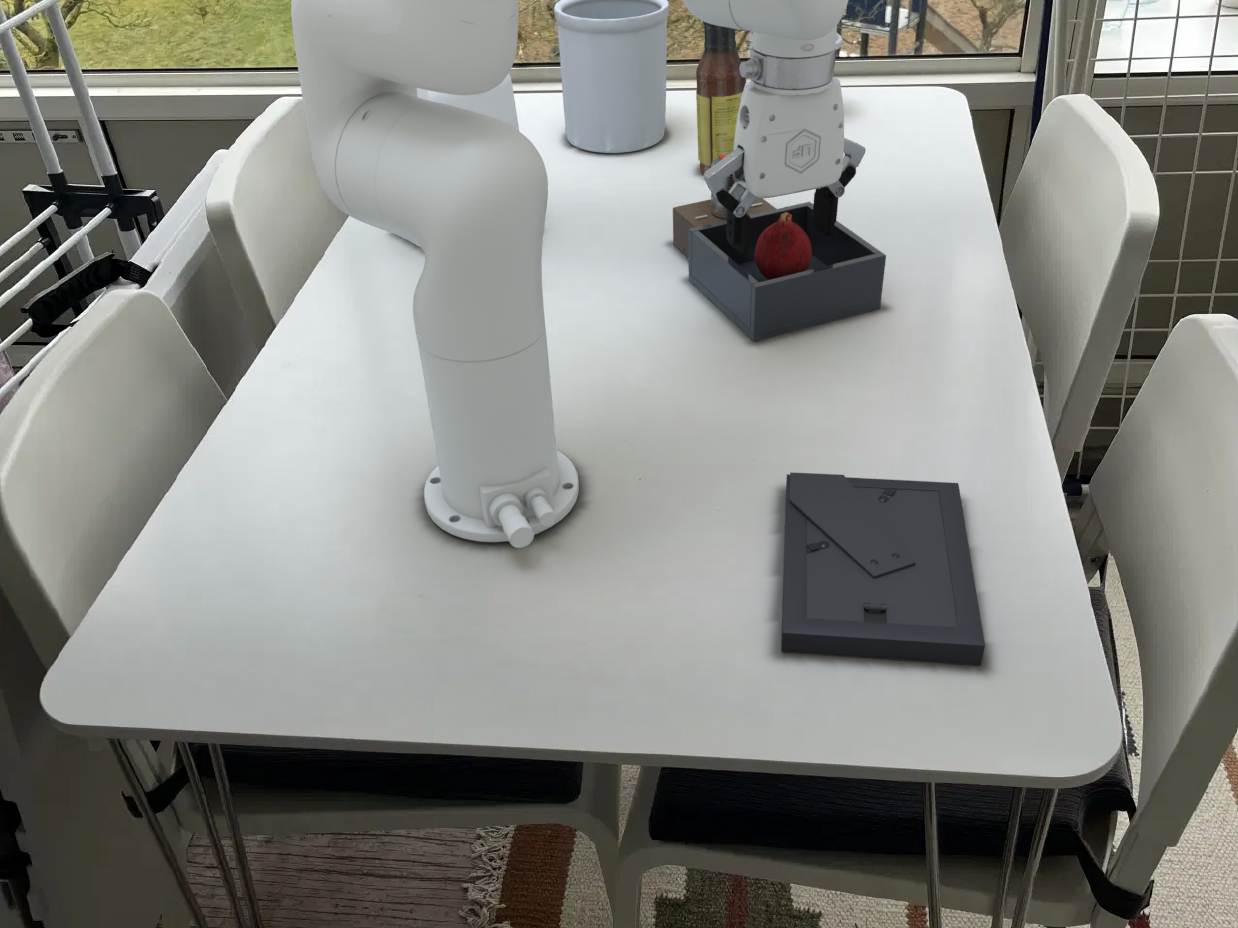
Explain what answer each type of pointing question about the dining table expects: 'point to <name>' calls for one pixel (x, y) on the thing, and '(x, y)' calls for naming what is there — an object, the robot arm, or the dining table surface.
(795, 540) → the picture frame
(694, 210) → the block
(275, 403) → the dining table surface
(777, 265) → the red round fruit
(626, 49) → the utensil holder
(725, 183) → the metal rotary knob
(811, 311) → the dark grey open box
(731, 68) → the sauce bottle
